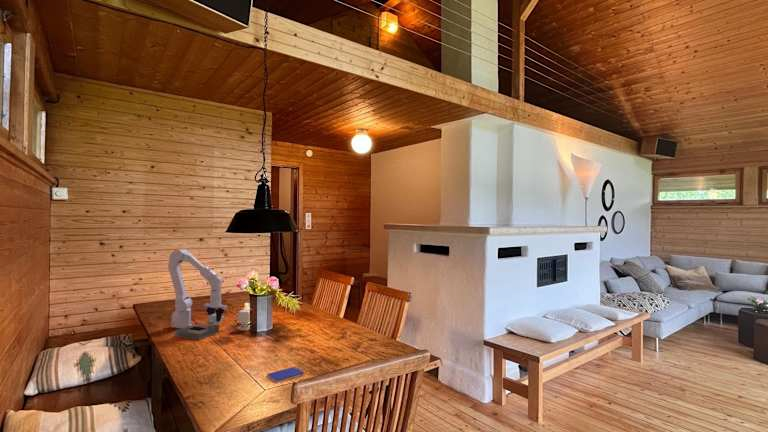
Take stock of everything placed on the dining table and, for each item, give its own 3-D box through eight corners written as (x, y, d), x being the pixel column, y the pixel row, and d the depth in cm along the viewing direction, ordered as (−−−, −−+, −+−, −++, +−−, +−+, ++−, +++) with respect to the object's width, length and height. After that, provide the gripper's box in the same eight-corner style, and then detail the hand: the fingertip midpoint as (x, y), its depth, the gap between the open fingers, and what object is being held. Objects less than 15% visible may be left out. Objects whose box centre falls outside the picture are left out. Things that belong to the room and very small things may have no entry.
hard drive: (294, 366, 166) (266, 373, 158) (304, 372, 160) (275, 380, 152) (294, 369, 166) (266, 377, 158) (304, 376, 160) (275, 384, 152)
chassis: (174, 336, 206) (175, 330, 206) (195, 329, 219) (195, 323, 219) (199, 339, 201) (199, 334, 201) (218, 332, 214) (218, 326, 214)
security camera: (252, 327, 226) (253, 309, 226) (247, 330, 219) (247, 312, 219) (242, 326, 227) (242, 309, 227) (236, 329, 220) (236, 312, 220)
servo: (210, 326, 220) (211, 315, 220) (205, 325, 221) (205, 314, 221) (224, 321, 230) (224, 311, 230) (219, 320, 231) (219, 310, 231)
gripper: (200, 297, 224) (199, 321, 224) (221, 299, 220) (220, 324, 220) (209, 295, 231) (208, 318, 231) (229, 297, 226) (229, 320, 226)
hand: (215, 320), depth 226 cm, fingers closed on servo, 4 cm apart
